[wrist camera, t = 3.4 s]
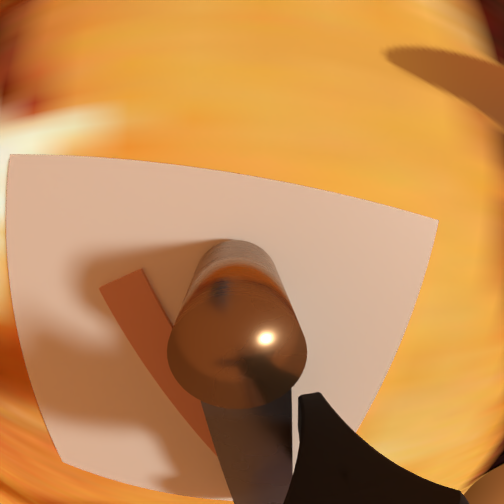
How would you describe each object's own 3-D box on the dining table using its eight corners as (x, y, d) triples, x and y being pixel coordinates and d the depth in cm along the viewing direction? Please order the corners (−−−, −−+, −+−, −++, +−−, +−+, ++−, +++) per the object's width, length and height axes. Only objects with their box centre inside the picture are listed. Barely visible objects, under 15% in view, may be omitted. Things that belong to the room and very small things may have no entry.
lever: (293, 495, 14) (303, 550, 10) (238, 501, 14) (241, 556, 10) (286, 234, 10) (327, 285, 5) (177, 246, 10) (133, 304, 5)
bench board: (307, 489, 16) (310, 501, 15) (67, 452, 14) (61, 463, 13) (425, 216, 11) (441, 221, 10) (23, 154, 10) (7, 154, 8)
